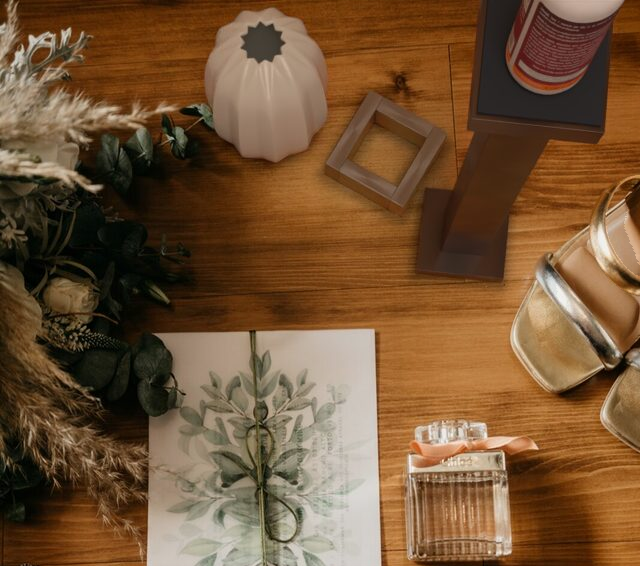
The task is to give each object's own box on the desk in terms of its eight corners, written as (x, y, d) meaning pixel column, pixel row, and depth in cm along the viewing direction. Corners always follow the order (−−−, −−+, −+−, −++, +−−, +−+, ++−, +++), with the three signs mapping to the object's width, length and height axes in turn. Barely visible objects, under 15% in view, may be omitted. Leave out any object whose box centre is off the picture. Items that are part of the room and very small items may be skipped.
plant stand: (508, 201, 85) (614, 7, 54) (501, 283, 84) (605, 133, 53) (424, 192, 85) (482, -7, 54) (415, 273, 84) (470, 118, 53)
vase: (319, 182, 85) (319, 114, 71) (203, 164, 85) (182, 93, 72) (337, 73, 86) (341, -13, 73) (223, 56, 86) (205, -34, 73)
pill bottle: (601, 77, 53) (674, -45, 42) (527, 112, 53) (581, -2, 42) (562, 6, 54) (624, -132, 43) (488, 40, 53) (532, -90, 43)
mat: (609, 12, 54) (610, 9, 54) (599, 127, 53) (601, 125, 53) (487, -1, 54) (488, -4, 54) (476, 114, 53) (477, 111, 53)
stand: (444, 144, 85) (448, 132, 83) (401, 217, 84) (403, 207, 82) (368, 102, 86) (370, 89, 83) (324, 174, 85) (325, 163, 82)
